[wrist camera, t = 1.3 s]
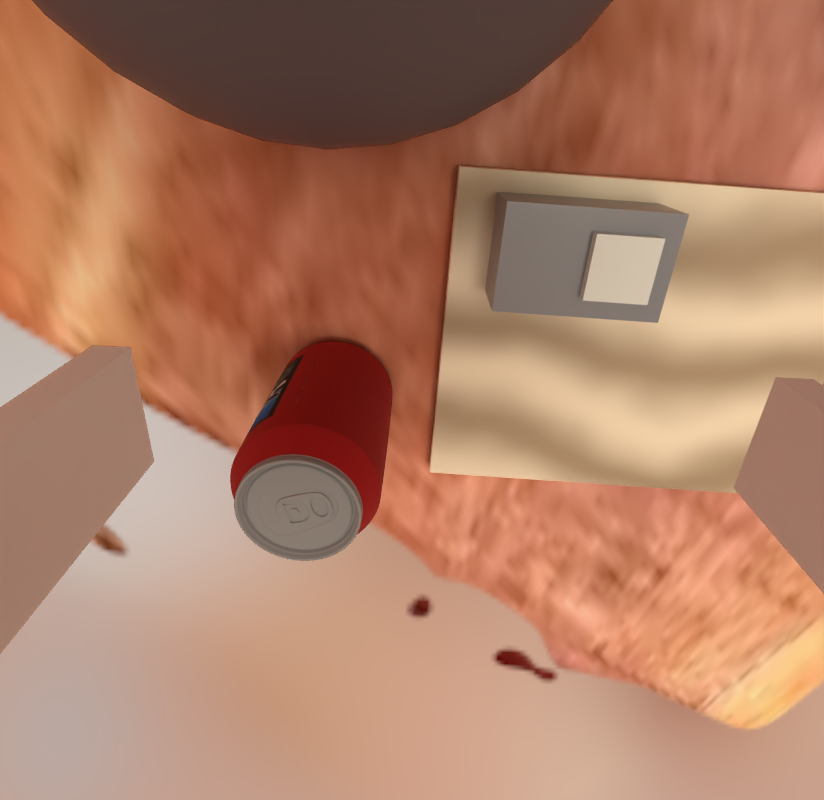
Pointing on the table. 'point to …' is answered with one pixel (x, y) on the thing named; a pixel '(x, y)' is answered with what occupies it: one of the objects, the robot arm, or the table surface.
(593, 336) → the subfloor panel
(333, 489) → the beverage can
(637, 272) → the block
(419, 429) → the table surface
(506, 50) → the flattened ellipsoid
